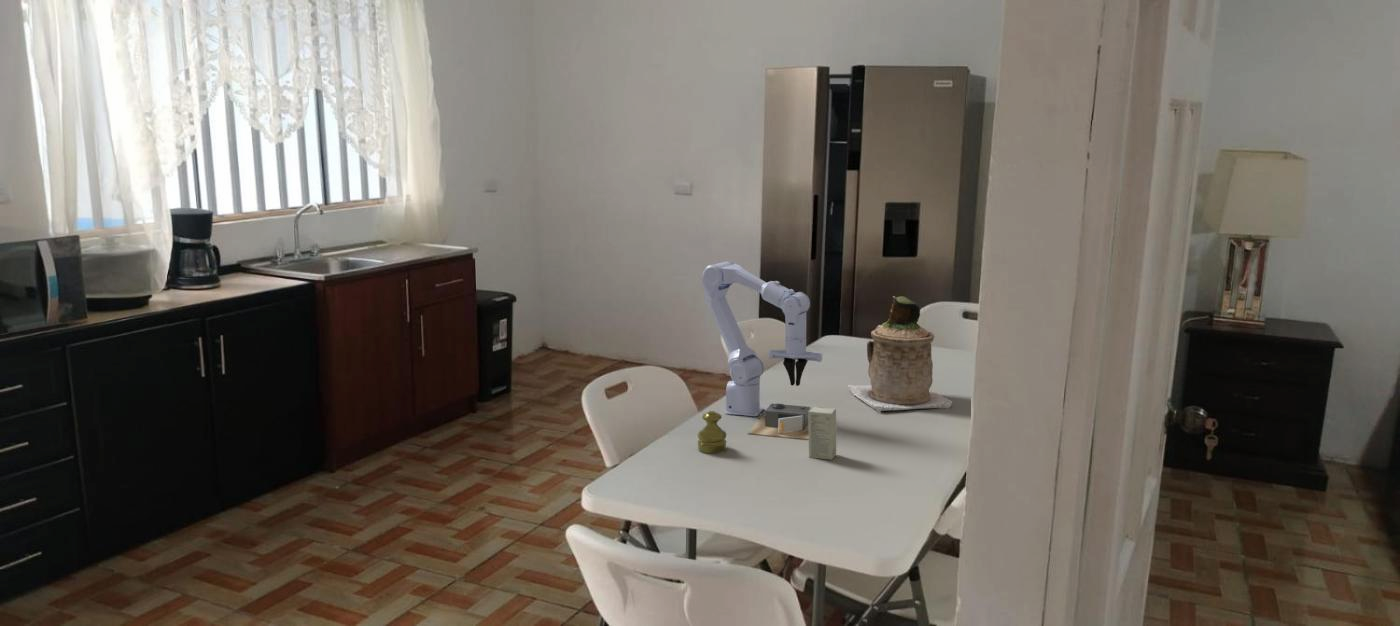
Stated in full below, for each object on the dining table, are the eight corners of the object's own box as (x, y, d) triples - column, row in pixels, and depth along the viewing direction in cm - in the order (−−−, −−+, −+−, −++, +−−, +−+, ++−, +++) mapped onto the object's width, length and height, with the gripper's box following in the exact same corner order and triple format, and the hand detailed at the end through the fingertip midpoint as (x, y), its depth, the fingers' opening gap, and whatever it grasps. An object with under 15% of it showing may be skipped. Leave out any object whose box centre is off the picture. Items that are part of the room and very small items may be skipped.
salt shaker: (706, 456, 245) (705, 418, 243) (692, 447, 251) (692, 410, 249) (731, 451, 248) (731, 413, 246) (717, 442, 254) (717, 406, 252)
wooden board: (747, 434, 261) (747, 433, 261) (762, 416, 276) (762, 415, 275) (813, 440, 255) (813, 439, 255) (825, 422, 270) (825, 421, 270)
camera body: (764, 426, 266) (765, 408, 265) (771, 418, 273) (771, 401, 272) (804, 429, 263) (804, 411, 262) (809, 422, 269) (810, 404, 268)
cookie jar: (955, 408, 281) (960, 300, 275) (875, 414, 276) (878, 304, 270) (919, 385, 305) (923, 285, 299) (845, 391, 300) (847, 289, 294)
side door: (780, 433, 259) (780, 419, 258) (778, 432, 260) (778, 417, 259) (805, 430, 261) (805, 416, 260) (802, 428, 263) (802, 414, 262)
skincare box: (836, 454, 244) (837, 408, 242) (831, 460, 240) (832, 413, 238) (812, 451, 247) (812, 405, 244) (807, 457, 243) (807, 410, 240)
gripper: (766, 338, 265) (766, 386, 268) (818, 341, 261) (818, 390, 263) (772, 333, 272) (772, 379, 275) (824, 336, 267) (823, 383, 270)
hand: (795, 384), depth 269 cm, fingers closed
